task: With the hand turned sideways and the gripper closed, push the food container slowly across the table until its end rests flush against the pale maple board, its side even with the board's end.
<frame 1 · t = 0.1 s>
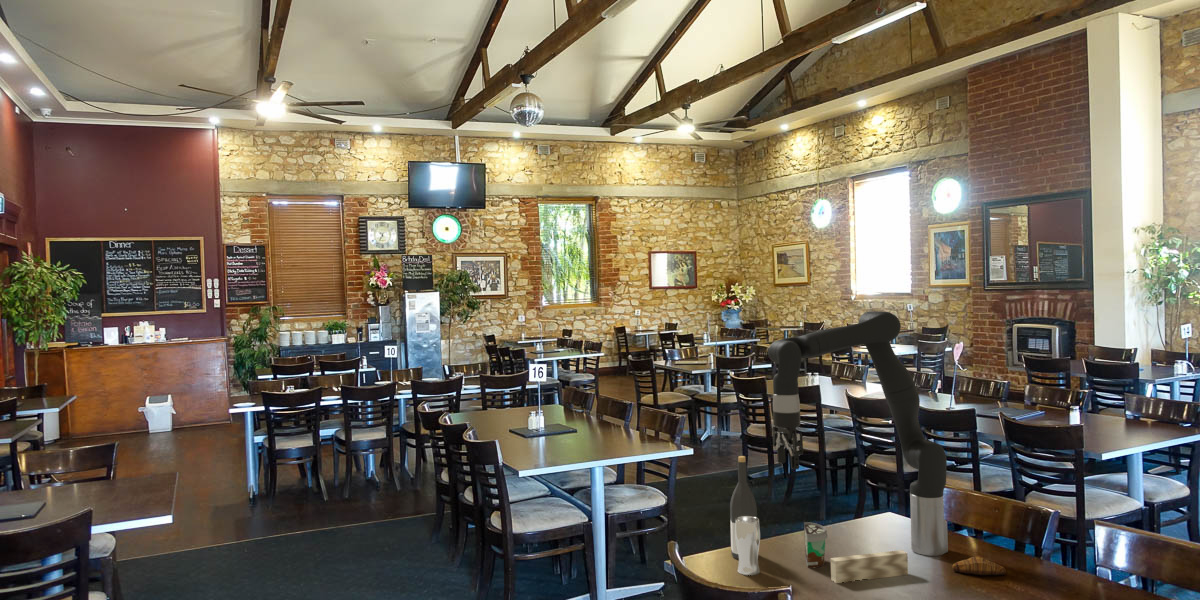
hand: (788, 465, 211), 29 cm above the table, tool pointing down, fingers open, 8 cm apart
beer glass: (748, 572, 209), on the table
wine bottle: (744, 556, 221), on the table
food container: (817, 563, 214), on the table
maple board: (869, 577, 202), on the table
croissant: (979, 574, 203), on the table
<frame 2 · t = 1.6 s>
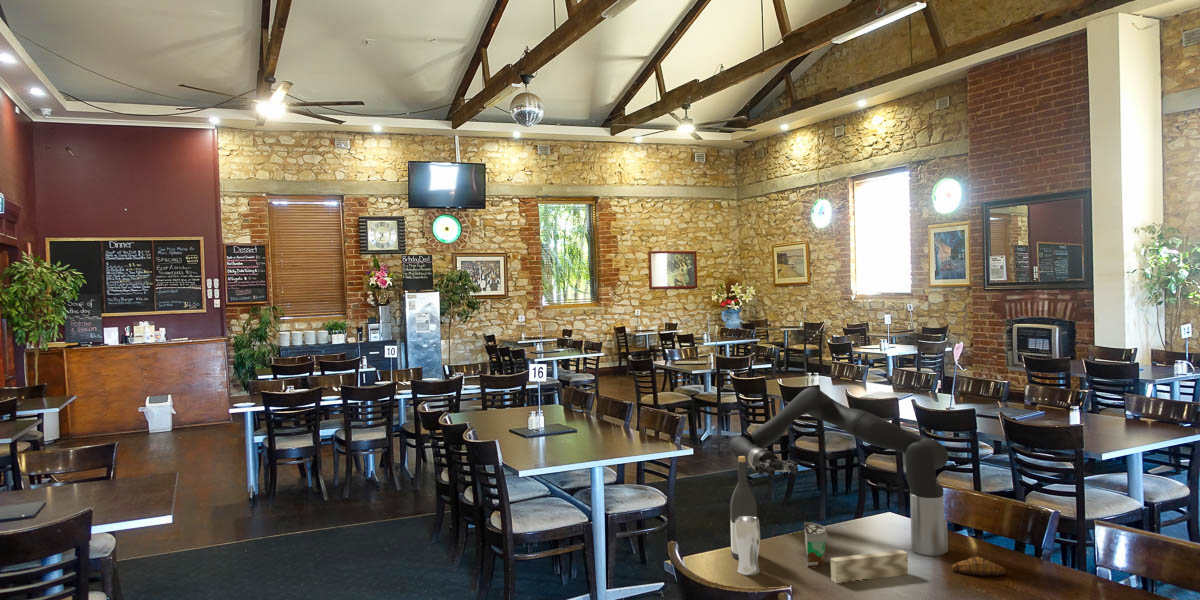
hand: (785, 471, 232), 22 cm above the table, tool horizontal, fingers open, 7 cm apart
nothing on the table moved.
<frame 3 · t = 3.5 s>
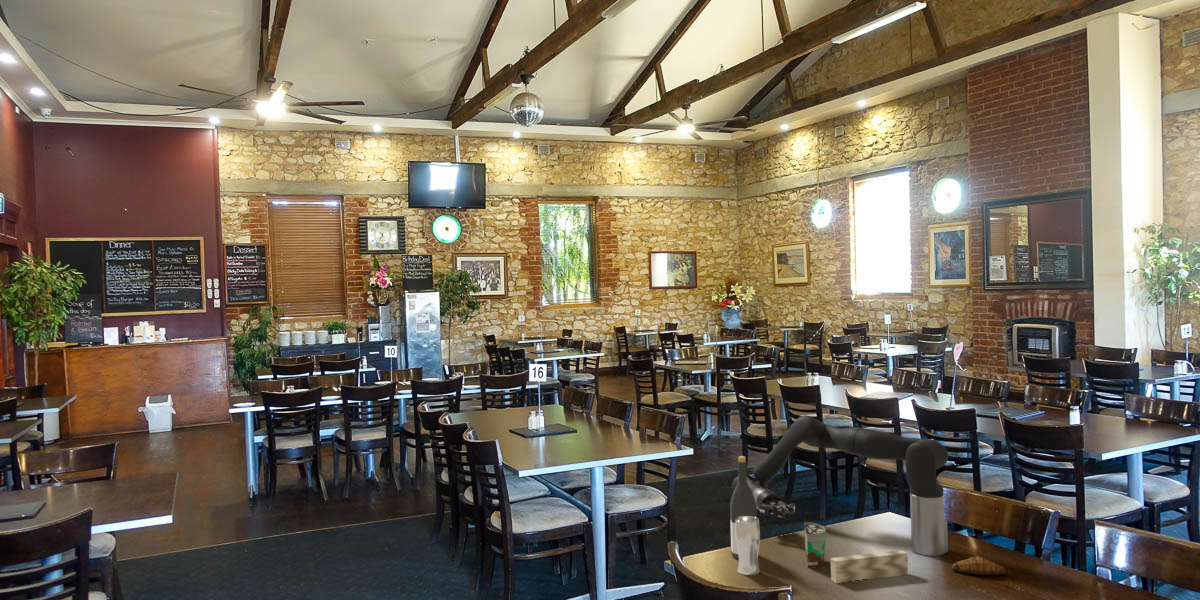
hand: (789, 516, 231), 9 cm above the table, tool horizontal, fingers closed
nothing on the table moved.
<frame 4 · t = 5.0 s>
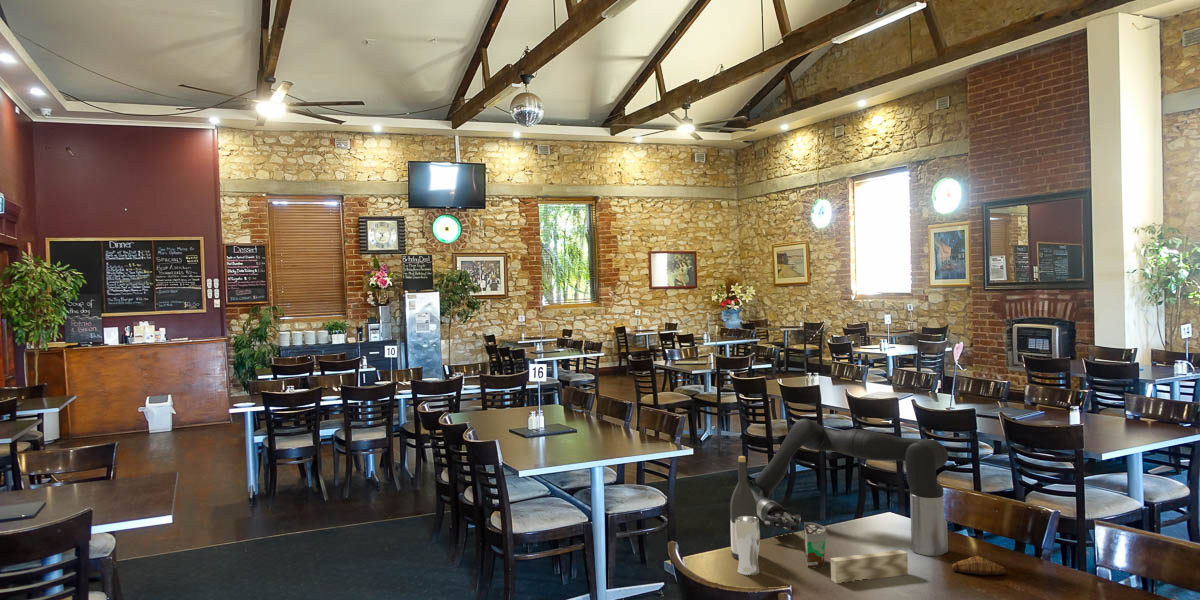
hand: (795, 528, 227), 6 cm above the table, tool horizontal, fingers closed
nothing on the table moved.
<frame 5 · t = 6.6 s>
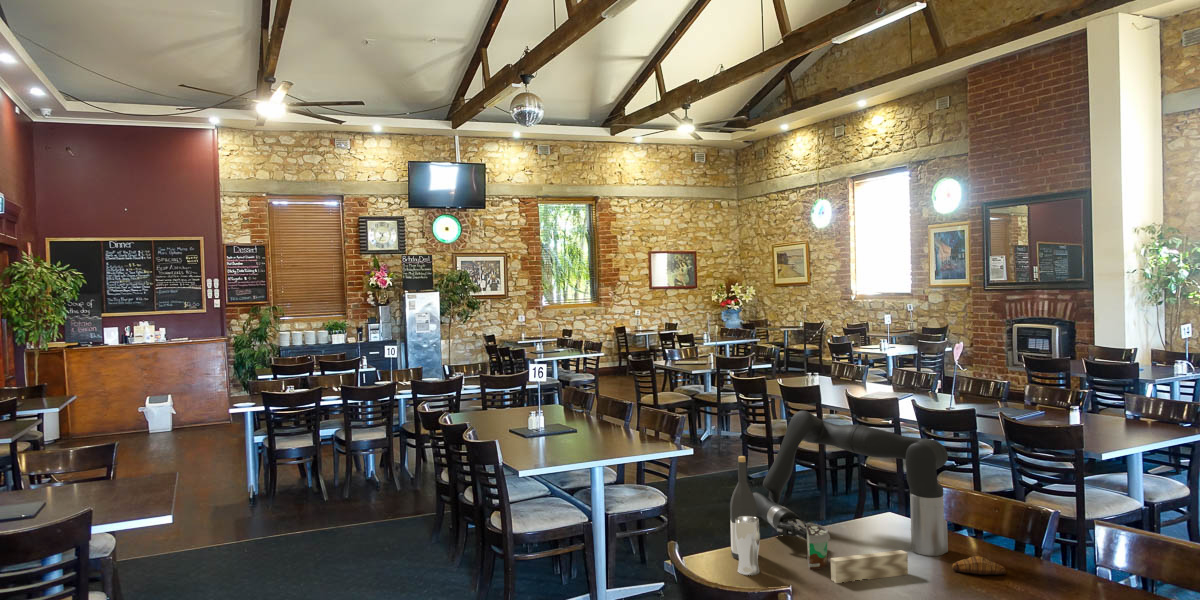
hand: (809, 536, 219), 6 cm above the table, tool horizontal, fingers closed
food container: (819, 564, 213), on the table, touching gripper
everything else where it was.
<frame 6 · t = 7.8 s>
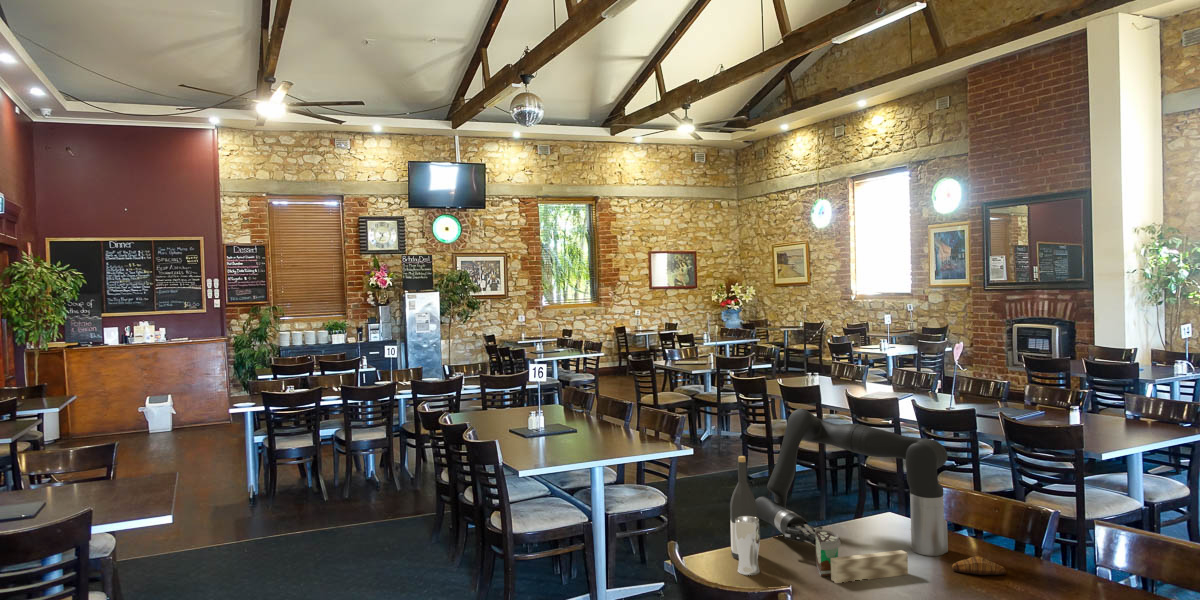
hand: (818, 542, 213), 6 cm above the table, tool horizontal, fingers closed
food container: (829, 571, 208), on the table, touching gripper
everything else where it was.
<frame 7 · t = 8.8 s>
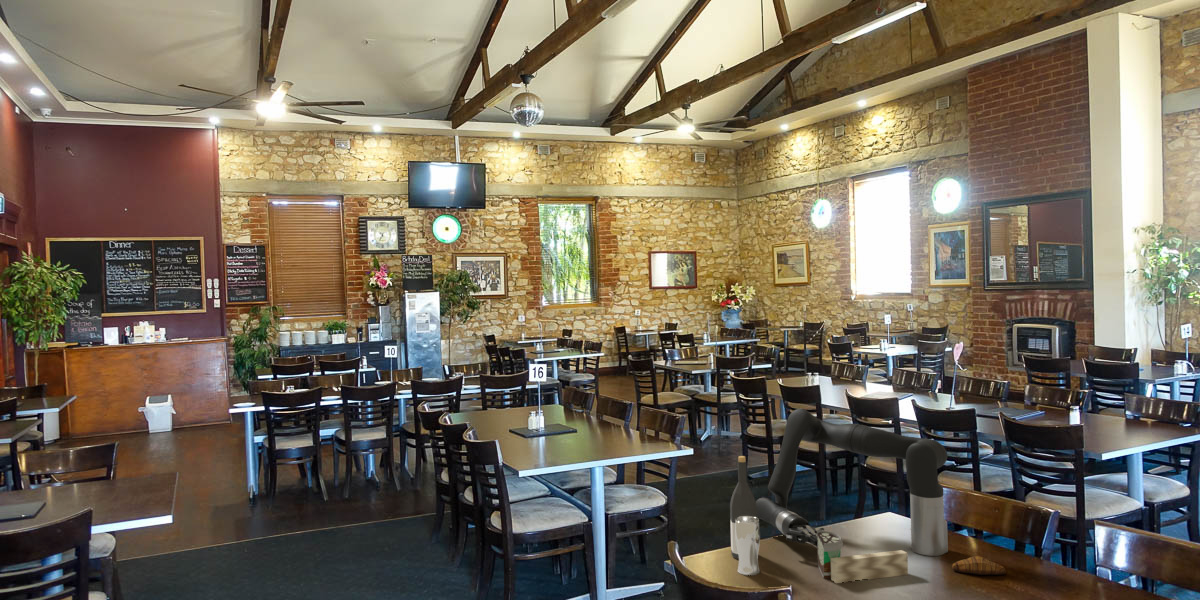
hand: (820, 543, 212), 6 cm above the table, tool horizontal, fingers closed
food container: (831, 572, 207), on the table, touching gripper
everything else where it was.
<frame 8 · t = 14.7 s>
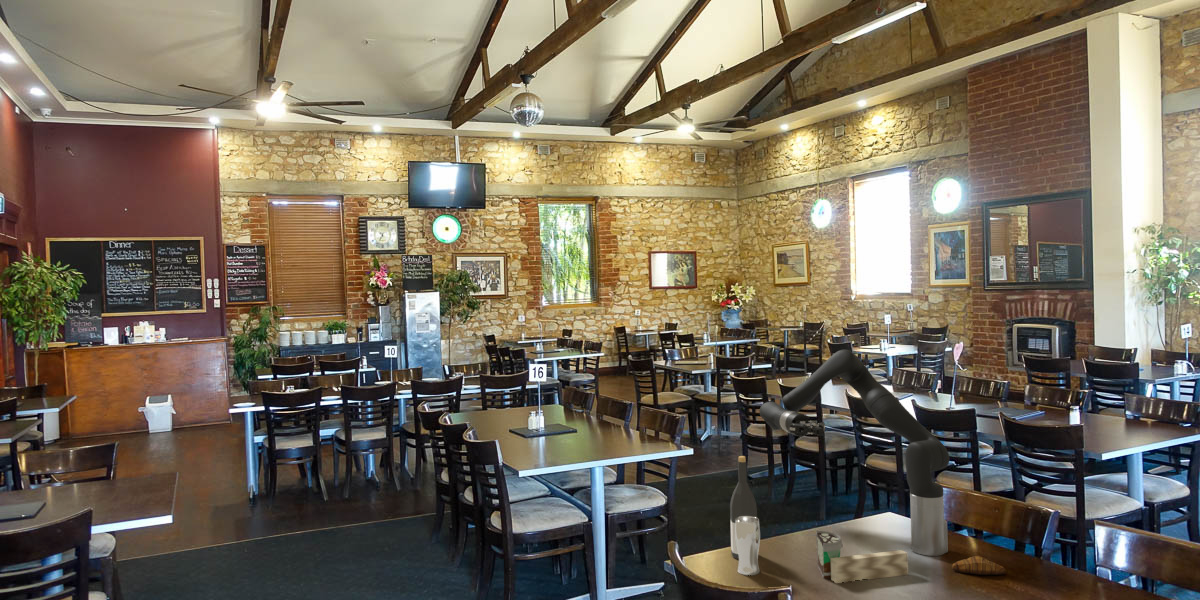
hand: (821, 432, 230), 35 cm above the table, tool horizontal, fingers closed
food container: (831, 573, 207), on the table
everything else where it was.
at the end: food container 1.2 cm from the target spot on the table beside the maple board, on the table; food container tilted 0°; food container moved 8.0 cm from its start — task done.
